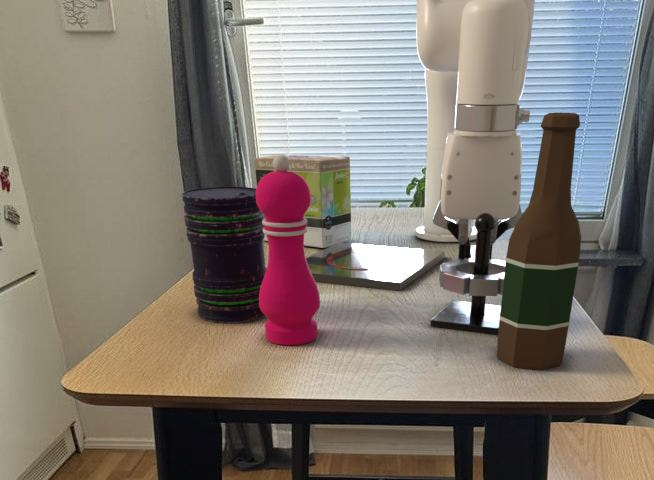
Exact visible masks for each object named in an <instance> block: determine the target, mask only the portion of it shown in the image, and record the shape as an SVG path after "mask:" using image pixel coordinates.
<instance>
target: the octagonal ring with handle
mask: <svg viewBox="0 0 654 480" xmlns="http://www.w3.org/2000/svg"><path fill="white" fill-rule="evenodd" d="M475 248H476V245H471V252H470V258H465V260H463V259H458V258H457V259H453V260H448V261H444V262H442V264H440V265H439V276H438V277H439V278H438V281H439V288H442V290H444V291H448V292H451V293H454V294H458V295H462V296H464V295H468V296H469V297H472V296H486V297H497V296H498V295H500V296H502V293H503V283H504V274H505V264H506V260H501V259H497V258H495V259H491V260H490V259H489V269H488V275H473V273H474V261H475Z"/></svg>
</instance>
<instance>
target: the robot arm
mask: <svg viewBox="0 0 654 480" xmlns="http://www.w3.org/2000/svg"><path fill="white" fill-rule="evenodd" d="M535 3H536V0H416V18H415V20H416V21H415V23H416V25H415V28H416V29H415V42H416V53H417V56H418V59H419V62H420V64H421V65H422V66H423V68H424V85H425V96H426V111H427V129H426V130H427V131H426V132H427V133H426V136H427V137H426V160H425V161H426V162H425V185H424V210H423V212H424V213H423V225H421V226H419V227H417V228H416V229H415V237H416V238H418V239H421V240H424V241H428V242H439V243H458V253H457V254H458V255H457V259H463V260H465V258H470V252H471V246H472V244H471V242H470V241H475V240H476V236H477V230H476V228H475V226H474V221H476V219H477V217H478V216H479V215H481V214H483V213H489V214H491V215H492V216H493V217H494V219H495V227H494V229H493V230H492V237H491V248H490V260H492V256H493V255H492V253H493V245H494V244H495V243H496V241H497V240H498V239H499V238H500V237H502V236H503V235H504V234H505V233H506V232H507V231H508V230H512V229H514V228H515V225H516V223H517V221H518V220H519V218H520V217H521V215H522V214H523V213H522V209H521V204H520V203H521V191H522V173H523V172H522V166H523V148H522V147H523V145H522V135H521V132H517V129H518V126H520V124H521V125H522V124H523V123H529V122H530V116H531V112H530V110H529V109H528V110H527V109H524V108H521V107H520V100H521V98H522V95H523V92H524V89H525V84H526V78H527V70H528V62H529V54H530V46H531V40H532V30H533V21H534V13H535Z"/></svg>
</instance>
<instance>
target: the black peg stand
mask: <svg viewBox="0 0 654 480" xmlns="http://www.w3.org/2000/svg"><path fill="white" fill-rule="evenodd" d="M474 227H475V228H476V230H477V236H476V239H475V246H476V248H475V261H474V273H473V275H488V269H489V259H490V248H491V237H492V230H493V229H494V227H495V219H494V217H493V216H492V215H491V214H489V213H483V214H481V215H479V216H478V217H477V219H476V220H474ZM486 301H487V296H471V300H470V301H464V300H463V301H462V300H454V299H452V300H451V301H450V302H449V303H448V304H446V306H445V307H443V308H442V309H440V311H439V312H438V313H437V314H436V315H435V316H434V317H432V318H431V319H430V325H429V326H430V327H434V328H442V329H448V330H449V329H450V330H458V331H465V332H473V333H482V334H489V335H490V334H491V335H497V336H498V331H499V322H500V312H501V305H500V304H499V305H498V304H490V303H489V304H488V303H486Z"/></svg>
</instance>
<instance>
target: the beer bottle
mask: <svg viewBox="0 0 654 480" xmlns="http://www.w3.org/2000/svg"><path fill="white" fill-rule="evenodd" d="M540 123H541V124H540V127H541V129H542V130H543V131H542V137H541V142H540V148H539V154H538V158H537V164H536V171H535V177H534V182H533V189H532V192H531V196H530V198H529V202H528V206H527V207H526V208H525V210H524V211H523V213H522V215H521V217H520V218H519V220H518V221H517V223H516V225H515V228H513V230H512V232H511V234H510V237H509V239H508V245H507V251H506V256H505V261H506V264H505V274H504V283H503V293H502V295H501V304H500V306H501V312H500V322H499V331H498V335H497V344H496V357H497V360H499V361H501V362H503V363H504V364H506V365H508V366H511V367H512V368H517V369H518V368H519V369H527V370H535V371H538V370H539V371H542V370H545V369H550V368H554V367H555V368H556V367H558V366H561V365H562V363H563V360H564V359H563V358H564V356H565V355H564V354H565V350H566V345H567V339H568V334H569V333H568V332H569V327H570V326H569V325H570V320H571V313H572V306H573V300H574V294H575V288H576V282H577V276H578V270H579V263H580V257H581V245H582V233H581V228H580V222H579V219H578V217H577V214H576V213H575V210H574V208H573V206H572V181H573V169H574V158H575V149H576V148H575V146H576V136H577V130H578V129H579V128H580V127H581V120H580V114H577V112H548V113H546V114H545V115H543V118H542V121H541V122H540Z"/></svg>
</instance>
